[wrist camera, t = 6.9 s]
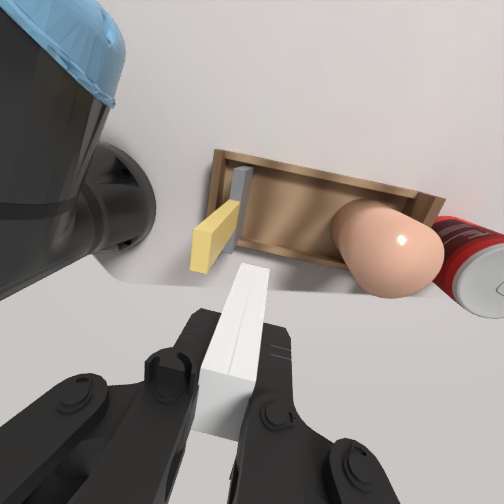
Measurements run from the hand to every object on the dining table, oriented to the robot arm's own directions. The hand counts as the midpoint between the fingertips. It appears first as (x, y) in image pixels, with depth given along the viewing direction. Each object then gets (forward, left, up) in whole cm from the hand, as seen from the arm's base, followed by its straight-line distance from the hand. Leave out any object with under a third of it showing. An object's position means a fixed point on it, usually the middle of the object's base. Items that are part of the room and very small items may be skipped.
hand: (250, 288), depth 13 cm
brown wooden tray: (+5, 0, -22) cm, 22 cm away
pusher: (-4, 0, -22) cm, 22 cm away
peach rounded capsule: (+12, 0, -21) cm, 24 cm away
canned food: (+22, 0, -22) cm, 31 cm away
